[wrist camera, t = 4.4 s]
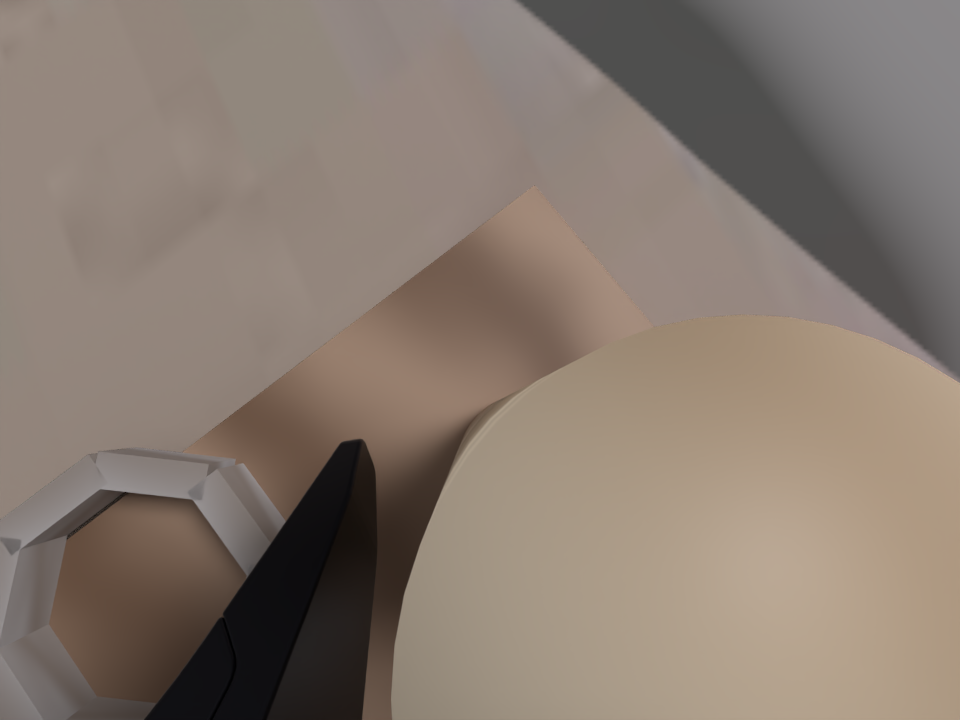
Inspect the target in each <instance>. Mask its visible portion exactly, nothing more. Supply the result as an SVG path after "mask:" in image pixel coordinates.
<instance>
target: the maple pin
mask: <svg viewBox="0 0 960 720" xmlns="http://www.w3.org/2000/svg"><path fill="white" fill-rule="evenodd" d="M391 708H392V720H960V383H958V382H957V381H955V380H953V379H952V378H950V377H949V376H947V375H945V374H944V373H942V372H940V371H939V370H937V369H935V368H934V367H932V366H930V365H929V364H927V363H926V362H924V361H922V360H921V359H919V358H917V357H915V356H912V355H910V354H908V353H906V352H904V351H901V350H899V349H897V348H895V347H893V346H890V345H888V344H886V343H884V342H882V341H879V340H877V339H875V338H872V337H868V336H865V335H862V334H859V333H856V332H852V331H849V330H846V329H843V328H840V327H836V326H833V325H829V324H823V323H818V322H812V321H807V320H801V319H796V318H790V317H779V316H759V315H730V316H718V317H705V318H695V319H691V320H686V321H681V322H677V323H672V324H667V325H663V326H658V327H653V328H650V329H648V330H645V331H642V332H639V333H636V334H634V335H631V336H628V337H625V338H622V339H620V340H617V341H614V342H611V343H609V344H607V345H605V346H603V347H601V348H599V349H597V350H595V351H593V352H592V353H590V354H588V355H586V356H584V357H582V358H580V359H578V360H576V361H574V362H572V363H570V364H568V365H566V366H564V367H562V368H560V369H558V370H556V371H555V372H553V373H551V374H549V375H547V376H545V377H543V378H541V379H539V380H537V381H535V382H533V383H531V384H529V385H527V386H525V387H523V388H521V389H519V390H518V391H516V392H514V393H512V394H510V395H508V396H506V397H504V398H502V399H500V400H498V401H496V402H494V403H492V404H491V405H489V406H488V407H486V408H485V409H484V410H483V411H481V412H480V413H479V414H478V415H477V416H476V417H475V419H474V420H473V421H472V422H471V424H470V425H469V427H468V428H467V430H466V432H465V434H464V436H463V439H462V441H461V444H460V446H459V449H458V451H457V454H456V456H455V459H454V461H453V464H452V466H451V469H450V471H449V474H448V476H447V479H446V481H445V484H444V486H443V489H442V491H441V494H440V496H439V499H438V501H437V504H436V506H435V509H434V511H433V514H432V516H431V519H430V521H429V524H428V526H427V529H426V531H425V534H424V536H423V539H422V541H421V544H420V547H419V550H418V553H417V556H416V559H415V562H414V565H413V568H412V571H411V575H410V578H409V581H408V584H407V587H406V590H405V593H404V598H403V603H402V609H401V614H400V619H399V624H398V630H397V635H396V640H395V645H394V661H393V676H392V691H391Z"/></svg>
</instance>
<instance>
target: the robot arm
mask: <svg viewBox="0 0 960 720" xmlns="http://www.w3.org/2000/svg"><path fill="white" fill-rule="evenodd" d="M376 566H377V503H376V473H375V467H374V464H373V461H372V459H371V456H370V453H369V451H368V448H367V445H366V443H365V441H364V440H363V439H353V440H347V441H343V442H341V443H340V444H339V445H338V447H337V448H336V450H335V451H334V452H333V454H332V455H331V457H330V458H329V460H328V461H327V463H326V464H325V465H324V467H323V468H322V470H321V471H320V473H319V474H318V476H317V477H316V478H315V480H314V481H313V483H312V484H311V486H310V487H309V489H308V490H307V491H306V493H305V494H304V496H303V497H302V499H301V500H300V502H299V503H298V504H297V506H296V507H295V509H294V510H293V512H292V513H291V515H290V516H289V517H288V519H287V520H286V522H285V523H284V525H283V526H282V528H281V529H280V530H279V532H278V533H277V535H276V536H275V538H274V539H273V541H272V542H271V543H270V545H269V546H268V548H267V549H266V551H265V552H264V554H263V555H262V556H261V558H260V559H259V561H258V562H257V564H256V565H255V567H254V568H253V569H252V571H251V572H250V574H249V575H248V577H247V578H246V580H245V581H244V582H243V584H242V585H241V587H240V588H239V590H238V591H237V593H236V594H235V595H234V597H233V598H232V600H231V601H230V603H229V604H228V606H227V607H226V608H225V610H224V611H223V617H220V618H218V620H217V621H216V623H215V624H214V625H213V627H212V628H211V630H210V631H209V633H208V634H207V636H206V637H205V638H204V640H203V641H202V643H201V644H200V646H199V647H198V648H197V650H196V651H195V652H194V654H193V655H192V657H191V658H190V659H189V661H188V662H187V664H186V665H185V666H184V668H183V669H182V670H181V672H180V673H179V675H178V676H177V677H176V679H175V680H174V681H173V683H172V684H171V685H170V686H169V688H168V689H167V690H166V692H165V693H164V694H163V695H162V697H161V698H160V699H159V701H158V702H157V703H156V704H155V706H154V707H153V708H152V709H151V711H150V712H149V713H148V715H147V716H146V717H145V718H144V720H362V714H363V704H364V693H365V683H366V672H367V661H368V651H369V640H370V629H371V619H372V608H373V597H374V587H375V576H376Z"/></svg>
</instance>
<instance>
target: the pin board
mask: <svg viewBox="0 0 960 720" xmlns="http://www.w3.org/2000/svg"><path fill="white" fill-rule="evenodd" d="M653 327H654V326H653V325H652V324H651V322H650V321H649V320H648V319H647V318H646V316H645V315H644V314H643V313H642V312H641V311H640V309H639V308H638V307H637V306H636V305H635V303H634V302H633V301H632V300H631V299H630V298H629V296H628V295H627V294H626V293H625V292H624V290H623V289H622V288H621V287H620V286H619V284H618V283H617V282H616V281H615V280H614V279H613V277H612V276H611V275H610V274H609V273H608V271H607V270H606V269H605V268H604V267H603V266H602V264H601V263H600V262H599V261H598V260H597V258H596V257H595V256H594V255H593V254H592V253H591V251H590V250H589V249H588V248H587V247H586V245H585V244H584V243H583V242H582V241H581V239H580V238H579V237H578V236H577V235H576V234H575V232H574V231H573V230H572V229H571V228H570V226H569V225H568V224H567V223H566V222H565V221H564V219H563V218H562V217H561V216H560V215H559V213H558V212H557V211H556V210H555V209H554V207H553V206H552V205H551V204H550V203H549V202H548V200H547V199H546V198H545V197H544V196H543V194H542V193H541V192H540V191H539V190H538V189H537V187H536V186H535V185H534V186H533V187H531V188H530V189H529V190H528V191H526V192H525V193H524V194H522V195H521V196H520V197H518V198H517V199H516V200H514V201H513V202H512V203H510V204H509V205H508V206H506V207H505V208H504V209H502V210H501V211H500V212H498V213H497V214H496V215H495V216H493V217H492V218H491V219H489V220H488V221H487V222H485V223H484V224H483V225H481V226H480V227H479V228H477V229H476V230H475V231H473V232H472V233H471V234H469V235H468V236H467V237H466V238H464V239H463V240H462V241H460V242H459V243H458V244H456V245H455V246H454V247H452V248H451V249H450V250H448V251H447V252H446V253H444V254H443V255H442V256H440V257H439V258H438V259H437V260H435V261H434V262H433V263H431V264H430V265H429V266H427V267H426V268H425V269H423V270H422V271H421V272H419V273H418V274H417V275H415V276H414V277H413V278H411V279H410V280H409V281H407V282H406V283H405V284H404V285H402V286H401V287H400V288H398V289H397V290H396V291H394V292H393V293H392V294H390V295H389V296H388V297H386V298H385V299H384V300H382V301H381V302H380V303H378V304H377V305H376V306H375V307H373V308H372V309H371V310H369V311H368V312H367V313H365V314H364V315H363V316H361V317H360V318H359V319H357V320H356V321H355V322H353V323H352V324H351V325H349V326H348V327H347V328H346V329H344V330H343V331H342V332H340V333H339V334H338V335H336V336H335V337H334V338H332V339H331V340H330V341H328V342H327V343H326V344H324V345H323V346H322V347H320V348H319V349H318V350H316V351H315V352H314V353H313V354H311V355H310V356H309V357H307V358H306V359H305V360H303V361H302V362H301V363H299V364H298V365H297V366H295V367H294V368H293V369H291V370H290V371H289V372H287V373H286V374H285V375H284V376H282V377H281V378H280V379H278V380H277V381H276V382H274V383H273V384H272V385H270V386H269V387H268V388H266V389H265V390H264V391H262V392H261V393H260V394H258V395H257V396H256V397H255V398H253V399H252V400H251V401H249V402H248V403H247V404H245V405H244V406H243V407H241V408H240V409H239V410H237V411H236V412H235V413H233V414H232V415H231V416H229V417H228V418H227V419H225V420H224V421H223V422H222V423H220V424H219V425H218V426H216V427H215V428H214V429H212V430H211V431H210V432H208V433H207V434H206V435H204V436H203V437H202V438H200V439H199V440H198V441H196V442H195V443H194V444H193V445H191V446H190V447H189V448H187V449H186V450H185V451H183V452H182V453H180V452H171V451H162V450H154V449H145V448H127V449H117V450H107V451H98V453H95V454H88V455H87V456H85V457H84V458H83V459H81V460H80V461H78V462H77V463H76V464H74V465H73V466H72V467H70V468H69V469H68V470H66V471H65V472H64V473H62V474H61V475H60V476H58V477H57V478H56V479H54V480H53V481H52V482H50V483H49V484H48V485H46V486H45V487H44V488H42V489H41V490H39V491H38V492H37V493H35V494H34V495H33V496H31V497H30V498H29V499H27V500H26V501H25V502H23V503H22V504H21V505H19V506H18V507H17V508H15V509H14V510H13V511H11V512H10V513H9V514H7V515H6V516H5V517H3V518H2V519H0V720H144V718H145V717H146V716H147V715H148V713H149V712H150V711H151V709H152V708H153V707H154V706H155V704H156V703H157V702H158V701H159V699H160V698H161V697H162V695H163V694H164V693H165V692H166V690H167V689H168V688H169V686H170V685H171V684H172V683H173V681H174V680H175V679H176V677H177V676H178V675H179V673H180V672H181V670H182V669H183V668H184V666H185V665H186V664H187V662H188V661H189V659H190V658H191V657H192V655H193V654H194V652H195V651H196V650H197V648H198V647H199V646H200V644H201V643H202V641H203V640H204V638H205V637H206V636H207V634H208V633H209V631H210V630H211V628H212V627H213V625H214V624H215V623H216V621H217V620H218V618H220V617H223V611H224V610H225V608H226V607H227V606H228V604H229V603H230V601H231V600H232V598H233V597H234V595H235V594H236V593H237V591H238V590H239V588H240V587H241V585H242V584H243V582H244V581H245V580H246V578H247V577H248V575H249V574H250V572H251V571H252V569H253V568H254V567H255V565H256V564H257V562H258V561H259V559H260V558H261V556H262V555H263V554H264V552H265V551H266V549H267V548H268V546H269V545H270V543H271V542H272V541H273V539H274V538H275V536H276V535H277V533H278V532H279V530H280V529H281V528H282V526H283V525H284V523H285V522H286V520H287V519H288V517H289V516H290V515H291V513H292V512H293V510H294V509H295V507H296V506H297V504H298V503H299V502H300V500H301V499H302V497H303V496H304V494H305V493H306V491H307V490H308V489H309V487H310V486H311V484H312V483H313V481H314V480H315V478H316V477H317V476H318V474H319V473H320V471H321V470H322V468H323V467H324V465H325V464H326V463H327V461H328V460H329V458H330V457H331V455H332V454H333V452H334V451H335V450H336V448H337V447H338V445H339V444H340V443H341V442H343V441H347V440H353V439H363V440H364V441H365V443H366V445H367V448H368V451H369V453H370V456H371V459H372V461H373V464H374V467H375V473H376V503H377V566H376V576H375V587H374V597H373V608H372V619H371V629H370V640H369V651H368V661H367V672H366V683H365V693H364V704H363V714H362V720H392V708H391V691H392V676H393V661H394V645H395V640H396V635H397V630H398V624H399V619H400V614H401V609H402V603H403V598H404V593H405V590H406V587H407V584H408V581H409V578H410V575H411V571H412V568H413V565H414V562H415V559H416V556H417V553H418V550H419V547H420V544H421V541H422V539H423V536H424V534H425V531H426V529H427V526H428V524H429V521H430V519H431V516H432V514H433V511H434V509H435V506H436V504H437V501H438V499H439V496H440V494H441V491H442V489H443V486H444V484H445V481H446V479H447V476H448V474H449V471H450V469H451V466H452V464H453V461H454V459H455V456H456V454H457V451H458V449H459V446H460V444H461V441H462V439H463V436H464V434H465V432H466V430H467V428H468V427H469V425H470V424H471V422H472V421H473V420H474V419H475V417H476V416H477V415H478V414H479V413H480V412H481V411H483V410H484V409H485V408H486V407H488V406H489V405H491V404H492V403H494V402H496V401H498V400H500V399H502V398H504V397H506V396H508V395H510V394H512V393H514V392H516V391H518V390H519V389H521V388H523V387H525V386H527V385H529V384H531V383H533V382H535V381H537V380H539V379H541V378H543V377H545V376H547V375H549V374H551V373H553V372H555V371H556V370H558V369H560V368H562V367H564V366H566V365H568V364H570V363H572V362H574V361H576V360H578V359H580V358H582V357H584V356H586V355H588V354H590V353H592V352H593V351H595V350H597V349H599V348H601V347H603V346H605V345H607V344H609V343H611V342H614V341H617V340H620V339H622V338H625V337H628V336H631V335H634V334H636V333H639V332H642V331H645V330H648V329H650V328H653ZM124 492H129V493H128V494H127V495H125V496H124V497H123V498H121V499H120V500H119V501H117V502H116V503H115V504H113V505H112V506H111V507H109V508H108V509H107V510H105V511H104V512H103V513H102V514H100V515H99V516H98V517H96V518H95V519H94V520H92V521H91V522H90V523H88V524H87V525H86V526H84V527H83V528H82V529H80V530H79V531H78V532H76V533H75V534H74V535H72V536H71V537H70V538H69V539H67V535H68V534H70V533H71V532H72V531H74V530H75V529H76V528H78V527H79V526H80V525H82V524H83V523H84V522H86V521H87V520H88V519H90V518H91V517H92V516H94V515H95V514H96V513H98V512H99V511H100V510H101V509H103V508H104V507H105V506H107V505H108V504H109V503H111V502H112V501H113V500H115V499H116V498H117V497H119V496H120V495H121V494H123V493H124Z"/></svg>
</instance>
